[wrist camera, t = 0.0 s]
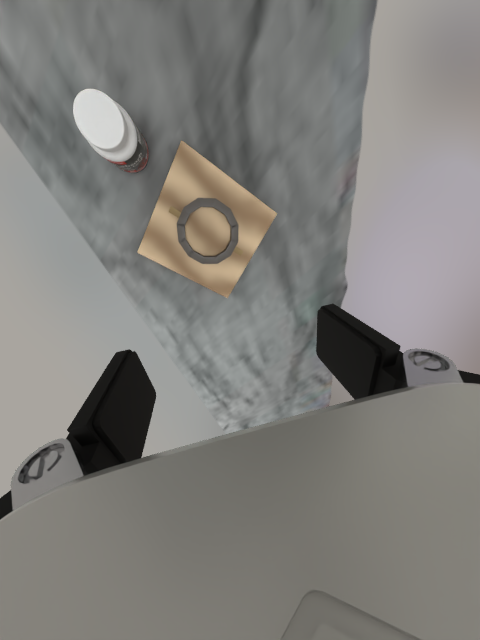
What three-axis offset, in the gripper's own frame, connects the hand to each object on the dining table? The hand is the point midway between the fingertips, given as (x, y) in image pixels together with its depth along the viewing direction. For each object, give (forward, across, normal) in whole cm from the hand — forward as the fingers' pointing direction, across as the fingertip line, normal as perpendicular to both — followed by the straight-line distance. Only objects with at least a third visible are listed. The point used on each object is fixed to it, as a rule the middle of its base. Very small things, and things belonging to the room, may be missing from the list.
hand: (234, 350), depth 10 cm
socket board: (+31, -1, -4) cm, 31 cm away
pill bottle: (+31, +8, -17) cm, 36 cm away
